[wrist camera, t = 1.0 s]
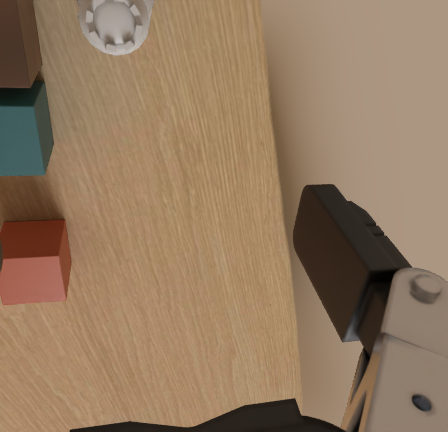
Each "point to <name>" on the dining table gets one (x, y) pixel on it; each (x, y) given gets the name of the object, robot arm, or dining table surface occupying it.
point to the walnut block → (18, 44)
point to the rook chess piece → (115, 23)
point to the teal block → (25, 131)
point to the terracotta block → (34, 262)
